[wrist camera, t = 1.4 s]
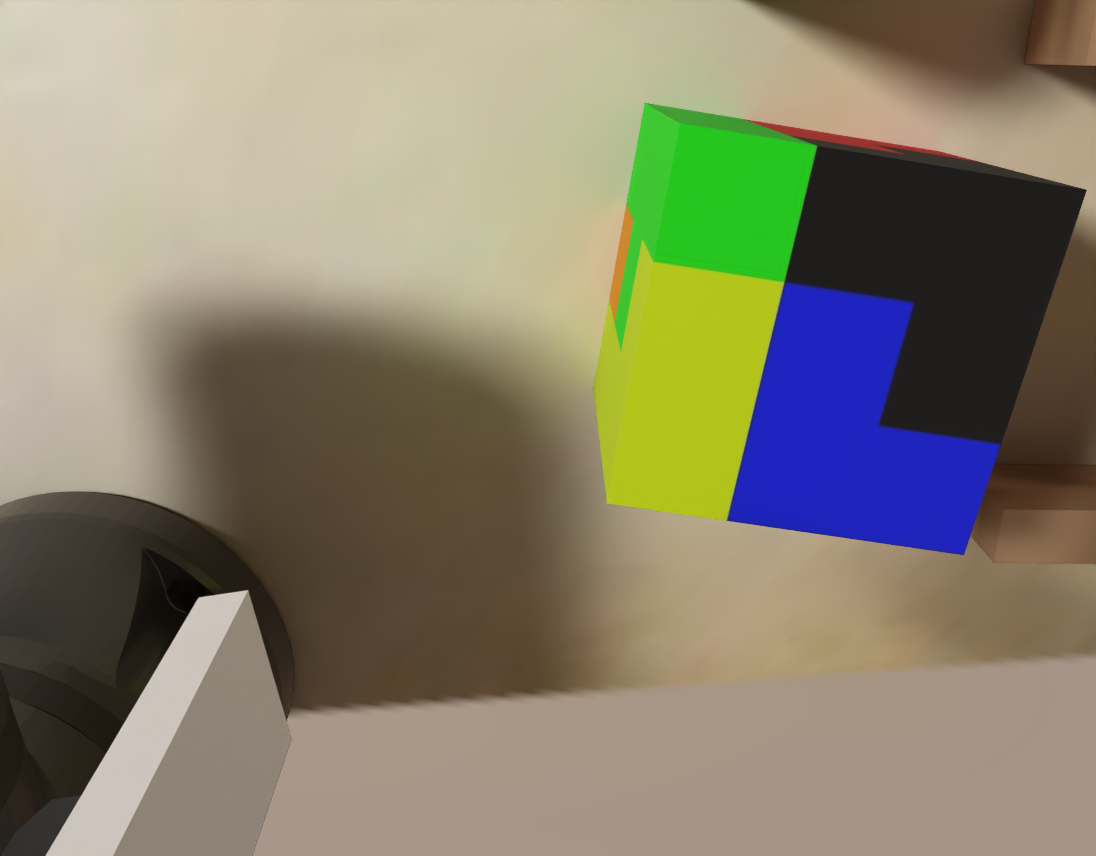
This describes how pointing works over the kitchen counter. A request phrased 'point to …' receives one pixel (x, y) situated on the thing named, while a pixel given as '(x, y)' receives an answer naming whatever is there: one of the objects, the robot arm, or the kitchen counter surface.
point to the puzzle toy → (819, 328)
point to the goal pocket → (1028, 489)
